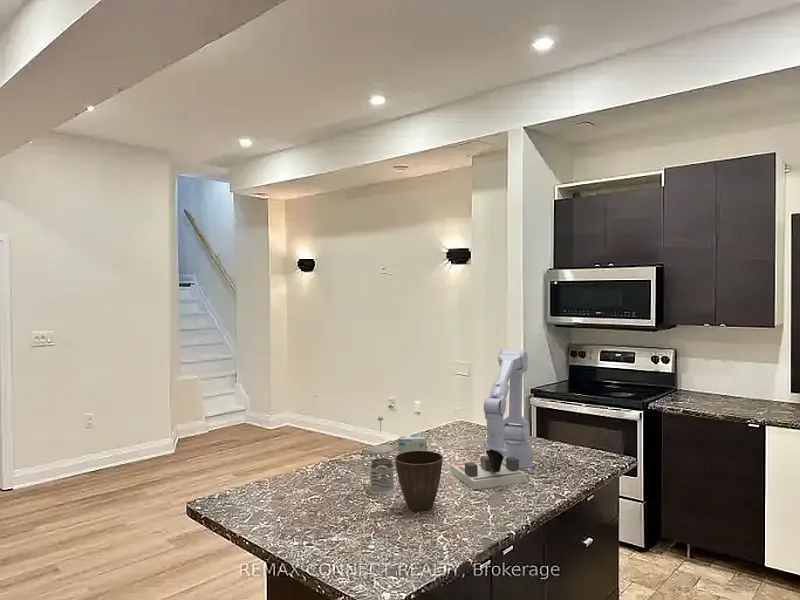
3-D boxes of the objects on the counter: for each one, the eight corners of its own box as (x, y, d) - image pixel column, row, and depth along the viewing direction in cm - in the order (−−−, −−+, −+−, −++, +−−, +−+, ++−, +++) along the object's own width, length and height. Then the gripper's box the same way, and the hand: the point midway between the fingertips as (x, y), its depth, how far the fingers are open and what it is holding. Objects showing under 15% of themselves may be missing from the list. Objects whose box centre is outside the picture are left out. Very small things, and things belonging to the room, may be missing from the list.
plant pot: (389, 503, 189) (388, 453, 189) (432, 496, 195) (431, 448, 194) (406, 520, 175) (405, 467, 175) (452, 512, 181) (450, 460, 180)
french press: (393, 495, 197) (391, 420, 196) (359, 493, 199) (357, 419, 198) (399, 485, 206) (397, 413, 206) (367, 483, 209) (365, 413, 208)
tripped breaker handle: (488, 466, 214) (488, 456, 214) (493, 469, 210) (493, 459, 210) (480, 467, 213) (480, 457, 213) (485, 470, 209) (485, 460, 209)
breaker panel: (499, 466, 225) (498, 447, 224) (526, 482, 206) (525, 462, 205) (450, 472, 218) (449, 454, 218) (473, 490, 199) (473, 469, 199)
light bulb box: (427, 461, 234) (426, 433, 233) (426, 466, 227) (425, 438, 227) (400, 460, 235) (399, 433, 234) (398, 466, 228) (397, 438, 228)
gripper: (475, 428, 210) (476, 466, 211) (494, 438, 197) (495, 479, 197) (493, 426, 213) (494, 464, 213) (513, 436, 199) (514, 476, 199)
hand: (496, 471), depth 205 cm, fingers closed
